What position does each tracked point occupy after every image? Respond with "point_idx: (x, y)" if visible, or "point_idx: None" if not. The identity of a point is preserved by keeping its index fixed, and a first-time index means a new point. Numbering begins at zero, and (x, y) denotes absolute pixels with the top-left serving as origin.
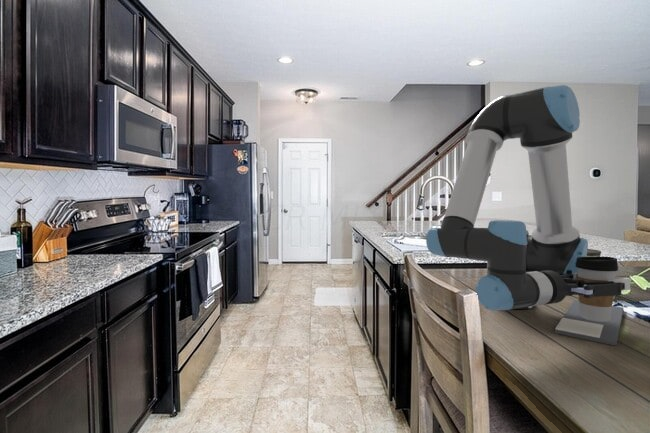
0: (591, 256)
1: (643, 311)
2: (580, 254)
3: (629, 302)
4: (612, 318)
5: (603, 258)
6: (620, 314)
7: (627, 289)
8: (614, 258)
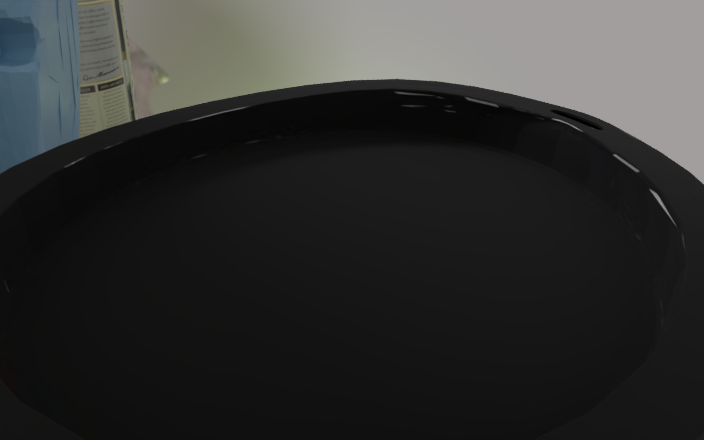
0: (90, 1)
1: None
2: (18, 46)
3: None
4: None
5: (351, 117)
6: None
7: None
8: (591, 131)
